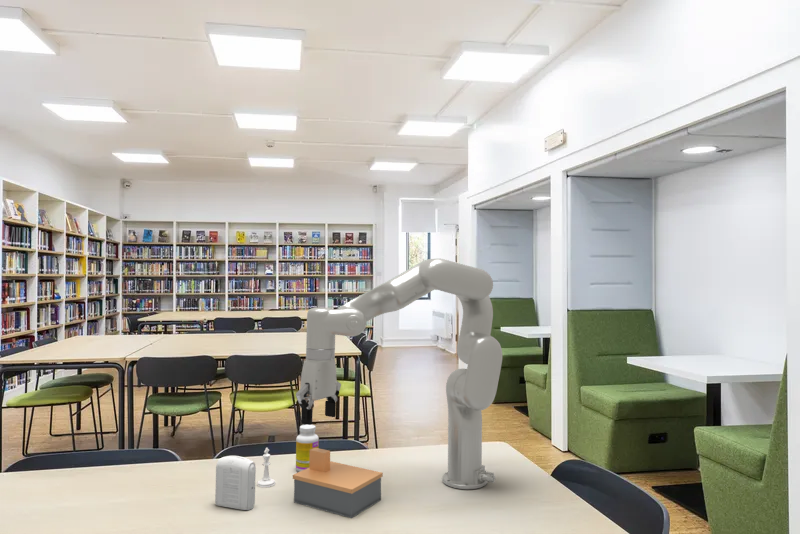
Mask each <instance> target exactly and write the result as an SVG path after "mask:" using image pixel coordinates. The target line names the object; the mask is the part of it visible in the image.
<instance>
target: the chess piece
mask: <svg viewBox="0 0 800 534" xmlns="http://www.w3.org/2000/svg"><path fill="white" fill-rule="evenodd" d="M269 451H270V449H269V447H265V450H264V451H263V453H264V454H263V455H262V458H263V461H264V462H262V465H263V466H264V467H263V468H264V470H263V476H262V478H261V479H259V480H258V481H257V482H256V483H257V484H256V485H257V486H258V487H259V488H270V486H271V487H273V486H275V485H276V480H275V479H274V478H272V477H270V471H269V469H270V468H269V466H270V465H271V462H270V458H271V454H270V453H269Z"/></svg>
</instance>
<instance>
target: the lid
mask: <svg viewBox="0 0 800 534" xmlns="http://www.w3.org/2000/svg"><path fill="white" fill-rule="evenodd" d="M383 473H384V472H382V471H376V470H373V469H368V468H364V467H359V466H354V465H349V464H345V463H340V462H337V461H331V450H328V449H324V448H313V449H311V450H310V458H309V468H307V469H305V470H303V471H300V472H298V471H297V472H296V473H294V474H292V479H293V480H294V479H295V480H299V481H303V482H307V483H311V484H315V485H319V486H323V487H327V488H331V489H335V490H339V491H343V492H347V493H351V494H352V493H354V492H356V491H358V490H360V489H361V488H363V487H365V486H367V485H369V484H370V483H372V482H374V481H376V480H377V479H379V478H381V479H382V478H383V477H384V476H383V475H384V474H383Z"/></svg>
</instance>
